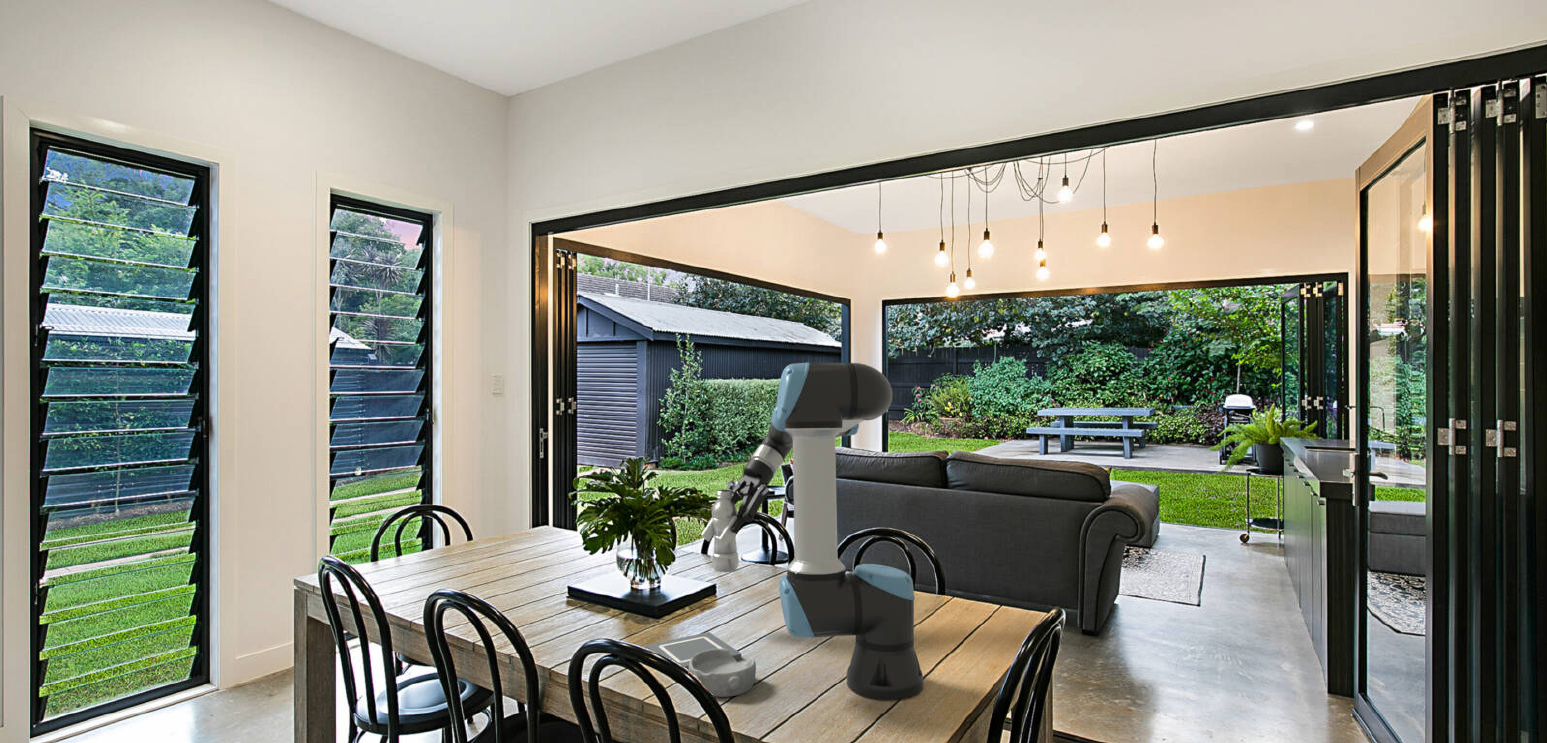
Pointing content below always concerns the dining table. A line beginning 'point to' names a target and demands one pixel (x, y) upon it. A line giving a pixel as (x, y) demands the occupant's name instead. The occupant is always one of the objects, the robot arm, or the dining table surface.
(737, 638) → the dining table surface
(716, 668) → the dish
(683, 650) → the slate board
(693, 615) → the dining table surface
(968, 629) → the dining table surface
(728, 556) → the plastic bottle
